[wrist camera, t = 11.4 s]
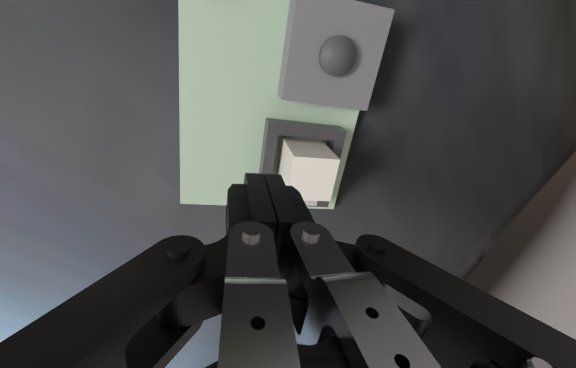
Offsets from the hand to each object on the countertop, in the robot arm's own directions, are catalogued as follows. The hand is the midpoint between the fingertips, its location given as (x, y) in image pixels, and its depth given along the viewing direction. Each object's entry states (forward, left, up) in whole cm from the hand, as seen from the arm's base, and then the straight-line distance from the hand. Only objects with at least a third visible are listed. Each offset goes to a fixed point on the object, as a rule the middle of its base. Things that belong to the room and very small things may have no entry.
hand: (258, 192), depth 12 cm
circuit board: (0, +3, -17) cm, 17 cm away
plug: (+4, +6, -16) cm, 17 cm away
